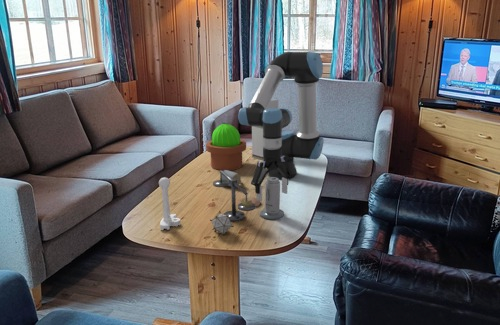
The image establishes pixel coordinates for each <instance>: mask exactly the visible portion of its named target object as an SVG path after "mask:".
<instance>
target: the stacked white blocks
mask: <svg viewBox="0 0 500 325" xmlns="http://www.w3.org/2000/svg"><path fill="white" fill-rule="evenodd" d="M269 108H277V109H279V99H277V98H276V99H275V98H274V99H271V101H270V103H269V105H268V107H267V109H269ZM263 148H264V147H263V126H251V151H252V153H251V156H252V158H253V159H256V160H257V159H258V160H260V161H264V157H263Z"/></svg>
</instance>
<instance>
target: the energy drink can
mask: <svg viewBox="0 0 500 325" xmlns="http://www.w3.org/2000/svg"><path fill="white" fill-rule="evenodd" d="M264 188H265V190H264V191H265V193H264V196H265V197H264V203H265V205H264V209H265V211H266V213H267V214H269V215H276V214H278V212H279V209H280V207H281V206H280V204H281V202H280V201H281V200H280V198H281V181H280V179H278V178H276V177H270V176H268V177H267V178H266V181H265V186H264Z"/></svg>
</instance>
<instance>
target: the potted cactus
mask: <svg viewBox="0 0 500 325" xmlns="http://www.w3.org/2000/svg"><path fill="white" fill-rule="evenodd" d="M246 150H247V141H246V140H243V139H241V134H240V133H239V130H238V129H237V128H236V126H235V125H234V126H233V125H232V124H230V123H228V122H227V123H225V122H223V123H221V124H219V125H217V126H216V127H215V129H214V130H213V132H212V135H211V140H209V141H207V142H206V143H205V151H206V152H208V153H210V166H211V168H213V169H215V170H217V171H218V170H219V171H221V170H222V171H224V170H228V171H234V170H237V169H240V168H241V167H242V166H243V152H245V151H246Z"/></svg>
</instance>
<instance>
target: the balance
mask: <svg viewBox="0 0 500 325" xmlns="http://www.w3.org/2000/svg"><path fill="white" fill-rule="evenodd" d="M223 171H224V170H219V174H220V175H219V176H220V179H216V180H215V181H213V182H212V186H214V187H215V188H226V187H230V186H229V185H231V187H230V188H231V190H230V191H231V210H228V211H225V212H224V213H223V214H224V215H227V216H228V215H229V216H228V217H229V218H230V217H231V218H230V221H231V223H235V222H236V223H237V222H241V221H243V220H245V218H246V214H245V212H251V211H254V210H255V209H256V207H255V204H253V203H252V200H250V199H248V192H247V191H246V190H245V189H244V188H242V187H241V186H240V184H239V185H238V184H237V180H236V179H231V178H230V177H229V176H228V175H227V174H225V173H224V172H223ZM222 175H223V176H224V177H226V178H227V179H228V180H229V181H227V180H222ZM235 186H236V187H235ZM236 188H237V189H238V190H239V191H240V192H241V193H242V194H244V196H245V198H246V199H242V198H241V199H242V200H241V203H240V204H239V205H238V204H237V202H236V199H237V198H236ZM237 209H238V210H237Z"/></svg>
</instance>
